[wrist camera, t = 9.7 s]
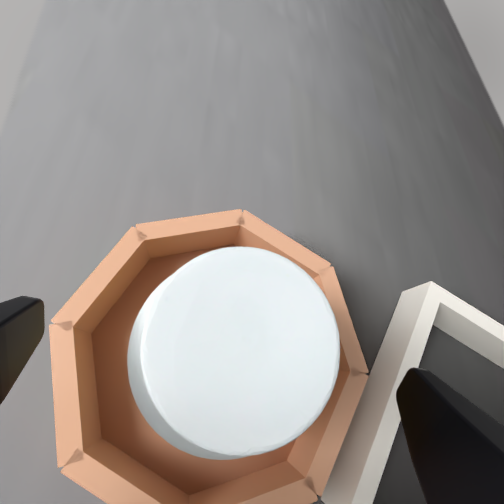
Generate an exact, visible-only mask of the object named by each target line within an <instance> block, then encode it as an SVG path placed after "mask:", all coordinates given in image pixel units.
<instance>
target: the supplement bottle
mask: <svg viewBox="0 0 504 504" xmlns="http://www.w3.org/2000/svg"><path fill="white" fill-rule="evenodd" d="M339 362H340V338H339V331H338V326H337V323H336V319H335V315H334V313H333V311H332V308H331V306H330V304H329V302H328V300H327V298H326V296H325V294H324V293H323V291H322V290H321V288H320V287H319V286H318V285H317V283H316V282H315V281H314V280H313V279H312V278H311V277H310V275H309V274H307V273H306V272H305V271H304V270H303V269H302V268H300V267H299V266H298V265H297V264H295V263H294V262H292V261H291V260H289V259H287V258H285V257H283V256H281V255H279V254H276V253H274V252H271V251H268V250H264V249H260V248H255V247H226V248H221V249H217V250H213V251H210V252H207V253H204V254H202V255H200V256H198V257H196V258H194V259H192V260H191V261H189V262H188V263H186V264H185V265H183V266H182V267H180V268H179V269H178V270H177V271H176V272H175V273H174V274H172V275H171V276H169V277H168V278H167V279H165V280H164V281H163V282H162V283H161V284H160V285H159V286H158V287H157V288H156V289H155V290H154V291H153V292H152V293H151V295H150V296H149V297H148V299H147V300H146V302H145V303H144V305H143V306H142V308H141V310H140V311H139V314H138V316H137V318H136V320H135V323H134V325H133V328H132V331H131V335H130V339H129V345H128V354H127V366H128V376H129V383H130V387H131V390H132V394H133V397H134V399H135V402H136V404H137V406H138V408H139V410H140V412H141V413H142V415H143V417H144V418H145V420H146V421H147V422H148V424H149V425H150V426H151V427H152V428H153V430H154V431H155V432H156V433H157V434H158V435H160V436H161V437H162V438H163V439H164V440H165V441H167V442H168V443H169V444H171V445H172V446H174V447H176V448H177V449H179V450H182V451H184V452H186V453H188V454H191V455H193V456H197V457H201V458H206V459H214V460H232V459H239V458H244V457H248V456H251V455H259V454H263V453H266V452H270V451H273V450H276V449H278V448H280V447H282V446H284V445H287V444H288V443H290V442H292V441H293V440H295V439H296V438H298V437H299V436H300V435H301V434H302V433H304V432H305V431H306V430H307V429H308V428H309V427H310V426H311V425H312V424H313V423H314V421H315V420H316V419H317V418H318V417H319V415H320V414H321V413H322V411H323V409H324V408H325V406H326V404H327V402H328V401H329V399H330V396H331V394H332V391H333V389H334V386H335V383H336V379H337V375H338V371H339Z"/></svg>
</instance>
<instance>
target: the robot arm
mask: <svg viewBox="0 0 504 504" xmlns="http://www.w3.org/2000/svg"><path fill="white" fill-rule="evenodd" d="M44 328H45V326H44V303H43V301H42V300H41V299H38V298H33V297H28V296H20V297H17V298H14V299H11V300H8V301H5V302H2V303H0V404H1V403H2V402H3V400H4V399H5V397H6V396H7V394H8V393H9V391H10V389H11V388H12V386H13V384H14V383H15V381H16V380H17V378H18V376H19V375H20V373H21V371H22V370H23V368H24V366H25V365H26V363H27V362H28V360H29V358H30V357H31V355H32V353H33V352H34V350H35V348H36V347H37V345H38V344H39V342H40V340H41V339H42V336H43V333H44ZM396 401H397V405H398V409H399V413H400V417H401V421H402V425H403V429H404V433H405V436H406V440H407V444H408V448H409V452H410V455H411V459H412V462H413V465H414V468H415V471H416V474H417V477H418V480H419V483H420V486H421V488H422V491H423V494H424V497H425V500H426V503H427V504H504V427H503V426H502V425H501V424H499V423H498V422H497V421H495V420H494V419H493V418H491V417H490V416H489V415H487V414H486V413H485V412H483V411H482V410H481V409H479V408H478V407H477V406H475V405H474V404H473V403H471V402H470V401H469V400H467V399H466V398H465V397H463V396H462V395H461V394H459V393H458V392H457V391H455V390H454V389H453V388H451V387H450V386H449V385H447V384H446V383H445V382H443V381H442V380H441V379H439V378H438V377H436V376H435V375H434V374H432V373H431V372H430V371H428V370H426V369H420V368H415V367H413V368H410V369H409V370H408V371H407V372H406V374H405V376H404V378H403V380H402V381H401V383H400V385H399V387H398V388H397V391H396Z"/></svg>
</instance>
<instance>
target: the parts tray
mask: <svg viewBox="0 0 504 504" xmlns="http://www.w3.org/2000/svg"><path fill="white" fill-rule="evenodd" d="M432 325H434V326H436V327H437V328H439V329H440V330H442V331H444V332H445V333H447V334H448V335H450V336H452V337H453V338H455V339H456V340H458V341H460V342H461V343H463V344H464V345H466V346H468V347H469V348H471V349H473V350H474V351H476V352H477V353H479V354H481V355H482V356H484V357H485V358H487V359H489V360H490V361H492V362H493V363H495V364H497V365H498V366H500V367H501V368H503V369H504V326H503V325H501V324H500V323H498V322H497V321H495V320H493V319H492V318H490V317H488V316H487V315H485V314H484V313H482V312H480V311H479V310H477V309H476V308H474V307H472V306H471V305H469V304H467V303H466V302H464V301H463V300H461V299H459V298H458V297H456V296H455V295H453V294H451V293H450V292H448V291H446V290H445V289H443V288H442V287H440V286H438V285H437V284H435V283H434V282H432V281H430V282H427V283H425V284H422V285H419V286H417V287H414V288H411V289H408V290H406V291H403V292H402V294H401V296H400V299H399V301H398V304H397V306H396V309H395V312H394V314H393V317H392V319H391V322H390V324H389V327H388V329H387V332H386V334H385V337H384V339H383V342H382V344H381V347H380V350H379V352H378V355H377V357H376V360H375V362H374V365H373V367H372V370H371V372H370V375H369V377H368V380H367V383H366V385H365V388H364V390H363V393H362V395H361V398H360V400H359V403H358V405H357V408H356V410H355V413H354V415H353V418H352V421H351V423H350V426H349V428H348V431H347V433H346V436H345V438H344V441H343V443H342V446H341V448H340V451H339V454H338V456H337V459H336V461H335V464H334V466H333V469H332V471H331V474H330V476H329V479H328V481H327V484H326V486H325V489H324V492H323V494H322V497H321V500H322V501H323V502H324V503H325V504H373V501H374V498H375V495H376V492H377V489H378V486H379V483H380V480H381V477H382V474H383V471H384V468H385V465H386V462H387V459H388V456H389V453H390V450H391V447H392V444H393V441H394V438H395V435H396V432H397V429H398V426H399V423H400V420H401V417H400V413H399V409H398V405H397V401H396V391H397V388H398V387H399V385H400V383H401V381H402V380H403V378H404V376H405V374H406V372H407V371H408V370H409V369H410V368H413V367H415V368H418V366H419V363H420V360H421V357H422V355H423V352H424V349H425V346H426V343H427V340H428V337H429V334H430V331H431V328H432Z"/></svg>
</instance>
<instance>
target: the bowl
mask: <svg viewBox="0 0 504 504" xmlns="http://www.w3.org/2000/svg"><path fill="white" fill-rule="evenodd" d="M226 247H255V248H260V249H264V250H268V251H271V252H274V253H276V254H279V255H281V256H283V257H285V258H287V259H289V260H291V261H292V262H294V263H295V264H297V265H298V266H299V267H300V268H302V269H303V270H304V271H305V272H306V273H307V274H309V275H310V277H311V278H312V279H313V280H314V281H315V282H316V283H317V285H318V286H319V287H320V288H321V290H322V291H323V293H324V294H325V296H326V298H327V300H328V302H329V304H330V306H331V308H332V311H333V313H334V315H335V319H336V323H337V326H338V331H339V338H340V362H339V371H338V375H337V379H336V383H335V386H334V389H333V391H332V394H331V396H330V399H329V401H328V402H327V404H326V406H325V408H324V409H323V411H322V413H321V414H320V415H319V417H318V418H317V419H316V420H315V421H314V423H313V424H312V425H311V426H310V427H309V428H308V429H307V430H306V431H305V432H304V433H302V434H301V435H300V436H299V437H298V438H296V439H295V440H293V441H292V442H290V443H288V444H287V445H284V446H282V447H280V448H278V449H276V450H273V451H270V452H266V453H263V454H259V455H251V456H248V457H244V458H239V459H232V460H214V459H206V458H201V457H197V456H193V455H191V454H188V453H186V452H184V451H182V450H179V449H177V448H176V447H174V446H172V445H171V444H169V443H168V442H167V441H165V440H164V439H163V438H162V437H161V436H160V435H158V434H157V433H156V432H155V431H154V430H153V428H152V427H151V426H150V425H149V424H148V422H147V421H146V420H145V418H144V417H143V415H142V413H141V412H140V410H139V408H138V406H137V404H136V402H135V399H134V397H133V394H132V390H131V387H130V383H129V376H128V366H127V354H128V345H129V339H130V335H131V331H132V328H133V325H134V323H135V320H136V318H137V316H138V314H139V311H140V310H141V308H142V306H143V305H144V303H145V302H146V300H147V299H148V297H149V296H150V295H151V293H152V292H153V291H154V290H155V289H156V288H157V287H158V286H159V285H160V284H161V283H162V282H163V281H164V280H165V279H167V278H168V277H169V276H171V275H172V274H174V273H175V272H176V271H177V270H178V269H179V268H180V267H182V266H183V265H185V264H186V263H188V262H189V261H191V260H192V259H194V258H196V257H198V256H200V255H202V254H204V253H207V252H210V251H213V250H217V249H221V248H226ZM330 265H331V263H329V262H328V261H326V260H324V259H323V258H321V257H320V256H318V255H316V254H315V253H313V252H312V251H310V250H308V249H307V248H305V247H304V246H302V245H300V244H299V243H297V242H295V241H294V240H292V239H291V238H289V237H287V236H286V235H284V234H283V233H281V232H279V231H278V230H276V229H275V228H273V227H271V226H270V225H268V224H267V223H265V222H263V221H262V220H260V219H259V218H257V217H255V216H254V215H252V214H251V213H249V212H247V211H246V210H244V211H243V213H242V210H241V209H238V210H231V211H224V212H217V213H210V214H203V215H197V216H190V217H183V218H176V219H169V220H162V221H155V222H149V223H142V224H136V228H134V227H133V226H132V227H131V228H130V229H129V230H128V232H127V233H126V234H125V235H124V236H123V237H122V239H121V240H120V241H119V242H118V243H117V244H116V246H115V247H114V248H113V249H112V250H111V251H110V253H109V254H108V255H107V256H106V257H105V258H104V259H103V261H102V262H101V263H100V264H99V265H98V266H97V268H96V269H95V270H94V271H93V272H92V273H91V275H90V276H89V277H88V278H87V279H86V280H85V282H84V283H83V284H82V285H81V286H80V287H79V288H78V290H77V291H76V292H75V293H74V294H73V295H72V297H71V298H70V299H69V300H68V301H67V302H66V304H65V305H64V306H63V307H62V308H61V309H60V311H59V312H58V313H57V314H56V315H55V316H54V318H53V319H52V320H51V321H52V322H53V323H55V324H52V325H49V332H50V348H51V365H52V381H53V398H54V414H55V430H56V447H57V463H58V468H59V467H62V466H64V467H63V469H62V470H61V471H60V472H61V473H62V474H64V475H65V476H67V477H68V478H70V479H71V480H73V481H74V482H76V483H77V484H79V485H80V486H82V487H83V488H85V489H86V490H88V491H89V492H91V493H92V494H94V495H95V496H97V497H98V498H100V499H101V500H103V501H104V502H106V503H107V504H310V503H313V502H315V501H318V498H317V495H319V496H320V497H321V496H322V494H323V491H324V489H325V486H326V484H327V481H328V479H329V476H330V474H331V471H332V468H333V466H334V463H335V461H336V458H337V456H338V453H339V451H340V448H341V446H342V443H343V441H344V438H345V436H346V433H347V430H348V428H349V425H350V423H351V420H352V418H353V415H354V413H355V410H356V408H357V405H358V403H359V400H360V398H361V395H362V392H363V390H364V387H365V385H366V382H367V380H368V377H369V376H368V375H366V374H365V373H368V372H369V371H368V368H367V365H366V362H365V359H364V356H363V353H362V350H361V347H360V344H359V341H358V338H357V335H356V332H355V330H354V327H353V324H352V321H351V318H350V315H349V312H348V309H347V306H346V303H345V300H344V297H343V294H342V291H341V288H340V285H339V282H338V279H337V276H336V273H335V270H334V267H333V266H332V267H330Z"/></svg>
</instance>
